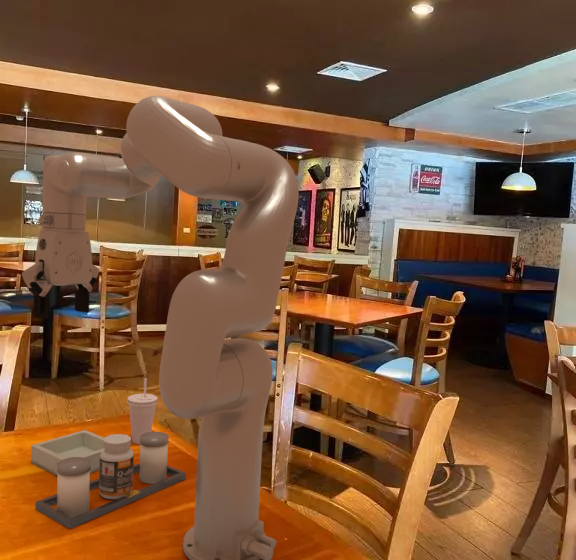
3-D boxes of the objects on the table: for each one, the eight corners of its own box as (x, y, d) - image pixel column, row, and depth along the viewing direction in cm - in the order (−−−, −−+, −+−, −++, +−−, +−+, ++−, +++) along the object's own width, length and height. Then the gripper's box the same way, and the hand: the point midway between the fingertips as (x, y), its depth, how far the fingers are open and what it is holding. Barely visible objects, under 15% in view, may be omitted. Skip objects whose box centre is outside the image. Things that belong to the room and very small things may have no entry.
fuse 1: (96, 509, 98) (97, 463, 97) (68, 521, 94) (69, 472, 93) (77, 499, 101) (78, 454, 100) (49, 510, 97) (50, 463, 96)
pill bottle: (123, 502, 101) (124, 446, 100) (92, 497, 102) (93, 442, 101) (138, 488, 106) (139, 435, 105) (108, 484, 107) (110, 431, 106)
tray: (121, 462, 117) (121, 445, 117) (67, 481, 107) (67, 462, 107) (84, 446, 124) (85, 429, 124) (31, 462, 114) (31, 445, 114)
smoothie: (146, 448, 125) (148, 383, 123) (119, 443, 127) (121, 379, 125) (161, 438, 131) (163, 376, 129) (136, 433, 133) (138, 373, 131)
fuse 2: (172, 477, 111) (174, 436, 111) (151, 486, 107) (153, 443, 107) (154, 469, 114) (155, 429, 114) (132, 478, 110) (134, 436, 110)
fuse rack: (186, 479, 111) (186, 472, 111) (70, 529, 91) (70, 520, 91) (151, 464, 117) (151, 457, 117) (35, 508, 97) (35, 500, 97)
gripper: (40, 223, 100) (38, 322, 102) (112, 225, 116) (110, 311, 117) (10, 221, 104) (8, 317, 105) (84, 223, 119) (82, 307, 121)
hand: (62, 314), depth 111 cm, fingers open, 9 cm apart
